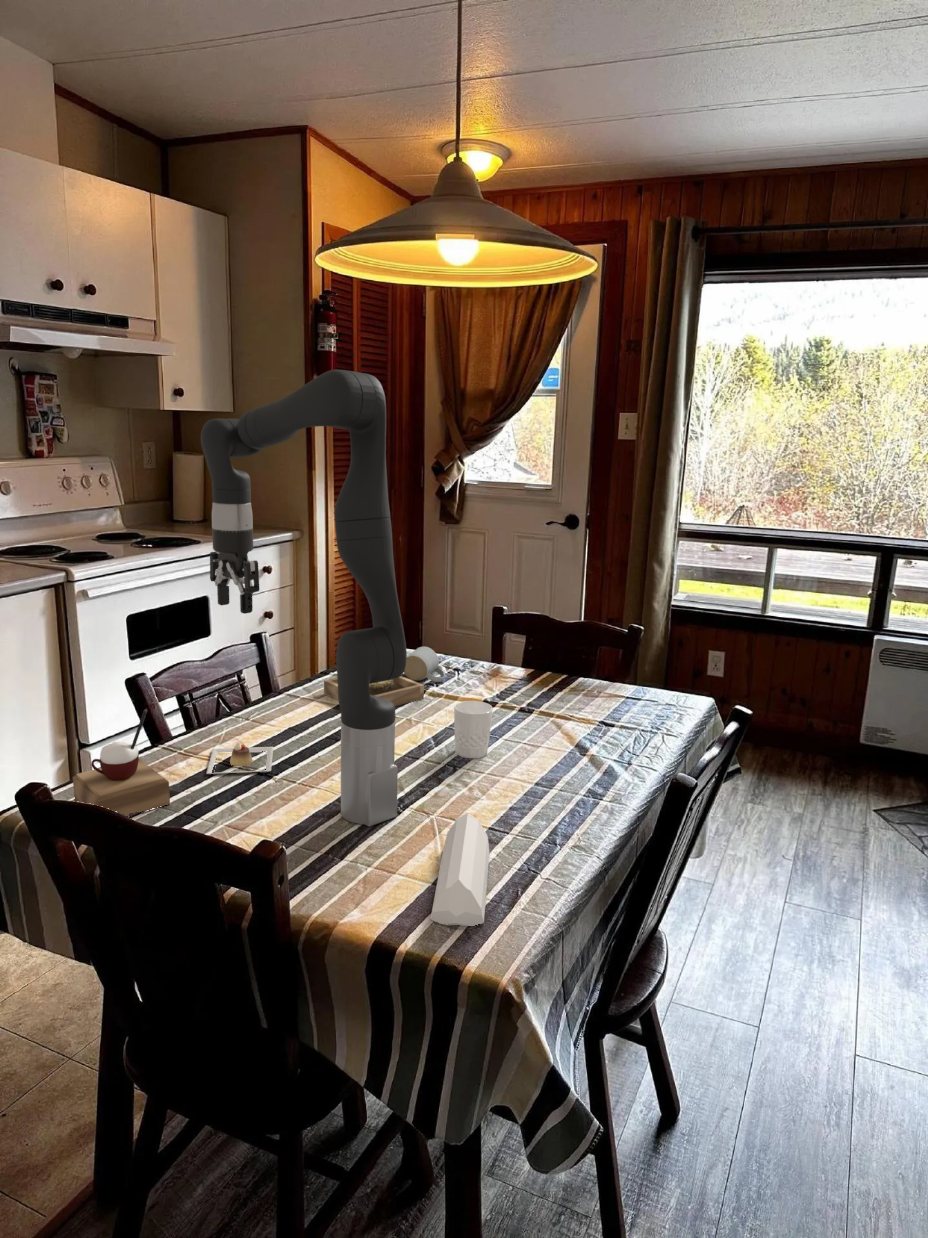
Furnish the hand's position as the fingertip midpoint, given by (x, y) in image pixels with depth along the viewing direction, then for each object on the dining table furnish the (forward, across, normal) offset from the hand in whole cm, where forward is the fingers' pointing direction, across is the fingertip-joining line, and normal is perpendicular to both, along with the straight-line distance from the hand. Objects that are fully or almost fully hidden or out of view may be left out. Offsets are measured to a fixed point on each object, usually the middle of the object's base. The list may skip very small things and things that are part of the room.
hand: (234, 608), depth 164 cm
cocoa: (+25, -8, +27) cm, 38 cm away
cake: (+30, +11, -45) cm, 55 cm away
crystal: (+30, -66, +1) cm, 72 cm away
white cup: (+30, -31, -36) cm, 56 cm away
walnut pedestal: (+30, -7, +27) cm, 41 cm away
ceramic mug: (+30, +11, -62) cm, 70 cm away
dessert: (+31, -5, +3) cm, 31 cm away
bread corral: (+30, +8, -42) cm, 52 cm away
